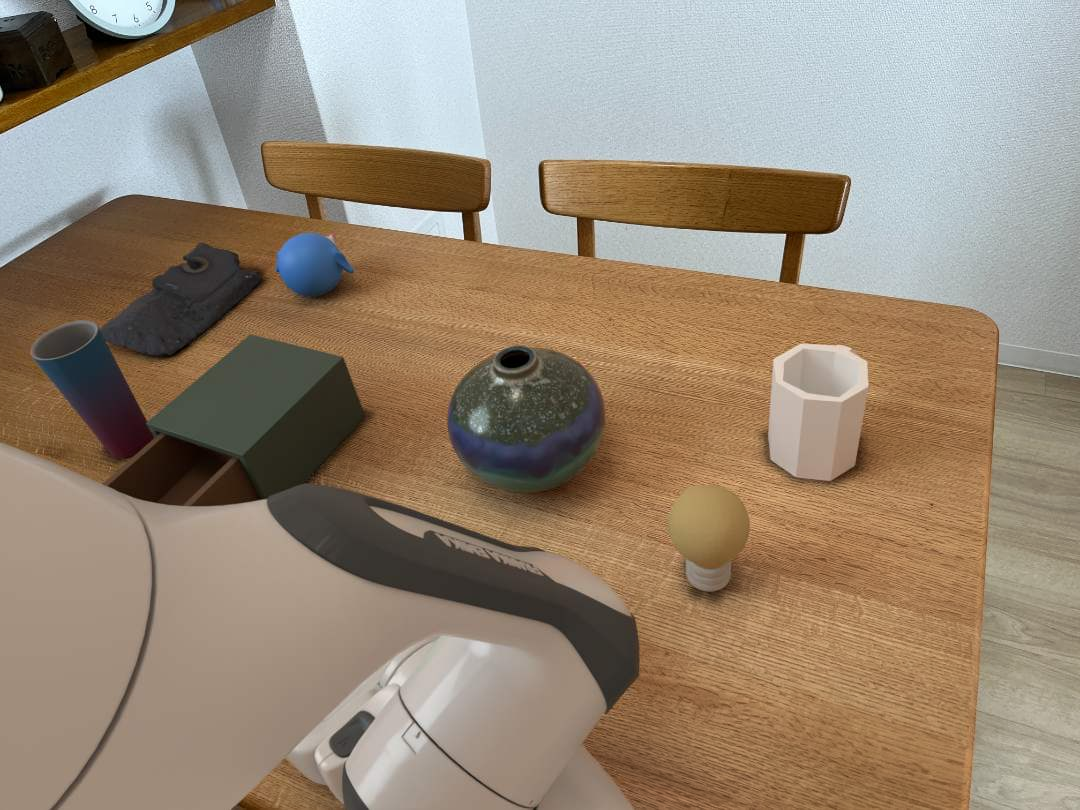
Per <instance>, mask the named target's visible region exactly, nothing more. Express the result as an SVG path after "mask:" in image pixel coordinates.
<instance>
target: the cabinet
mask: <svg viewBox="0 0 1080 810" xmlns="http://www.w3.org/2000/svg"><path fill="white" fill-rule="evenodd" d="M365 418H366V414H365V410H364V408H363V406H362V403H361V400H360V398H359V395H358V392H357V390H356V386H355V384H354V382H353V379H352V377H351V374H350V371H349V369H348V365H347V363H346V361H345V357H344V356H341V355H337V354H334V353H329V352H325V351H321V350H316V349H313V348H309V347H304V346H299V345H295V344H292V343H288V342H283V341H280V340H276V339H272V338H267V337H264V336H260V335H255V334H251V333H250V334H249V335H247V336H246V337H245V338H244V339H243V340H242V341H241V342H239V343H238V344H237V345H236V346H235V347H233V349H231V350H230V351H229V352H228V353H226V354H225V355H224V356H223V357H222V358H221V359H219V360H218V361H217V362H216V363H215V364H214V365H212V366H211V367H210V368H209V369H207V370H206V371H205V372H204V373H203V374H201V376H199V377H198V378H197V379H196V380H194V381H193V382H192V383H191V384H190V385H189V386H187V387H186V388H185V389H184V390H183V391H181V393H179V394H178V395H177V396H176V397H175V398H174V399H172V400H171V401H170V402H169V403H168V404H166V405H165V406H164V407H163V408H162V409H161V410H160V411H158V412H157V413H156V414H155V415H153V416H152V417H151V418H150V419H148V420H147V423H146V424H147V426H148V428H149V429H150V431H151V432H152V434H153V438H155V437H156V436H158V435H159V434H160V433H163V434H166V435H169V436H172V437H175V438H178V439H181V440H184V441H187V442H190V443H193V444H196V445H199V446H202V447H205V448H208V449H211V450H214V451H217V452H220V453H223V454H226V455H229V456H232V457H235V458H238V459H240V461H241V462H242V464H243V466H244V468H245V470H246V472H247V473H248V475H249V477H250V479H251V481H252V483H253V484H254V486H255V488H256V490H257V492H258V494H259V496H260V497H261V499H262V500H263V499H267V498H268V497H269V496H271V495H274V494H276V493H279V492H282V491H284V490H287V489H290V488H292V487H295V486H298V485H300V484H304V483H306V481H307V480H308V479H309V478H310V477H311V476H312V475H313V474H314V473H315V471H316V470H317V469H318V468H319V467H321V465H322V464H323V463H324V462H325V461H326V460H327V459H328V457H330V455H331V454H333V452H334V451H335V450H336V449H337V448H338V447H339V446H340V445H341V443H343V441H344V440H345V439H346V438H347V437H348V436H349V435H350V434H351V433H352V431H353V430H354V429H355V428H356V427H357V426H358V425H359V424H360V423H361V422H362V421H363V420H364V419H365Z"/></svg>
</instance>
